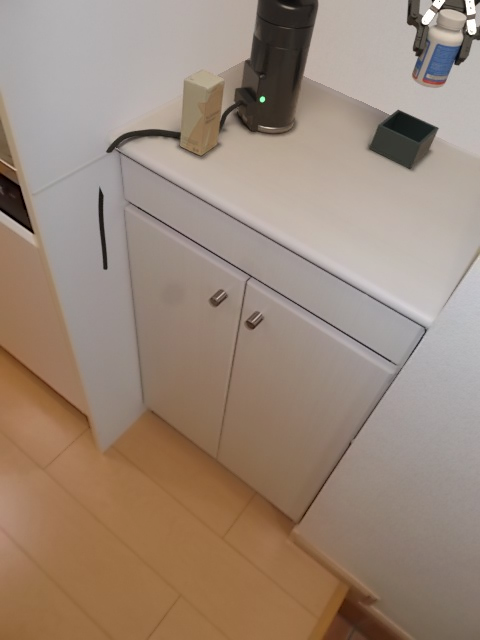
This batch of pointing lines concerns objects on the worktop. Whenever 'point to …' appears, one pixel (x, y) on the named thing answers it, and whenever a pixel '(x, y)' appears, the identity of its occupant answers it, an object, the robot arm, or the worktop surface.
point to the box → (201, 111)
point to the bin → (403, 138)
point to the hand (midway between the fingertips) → (438, 58)
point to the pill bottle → (440, 49)
